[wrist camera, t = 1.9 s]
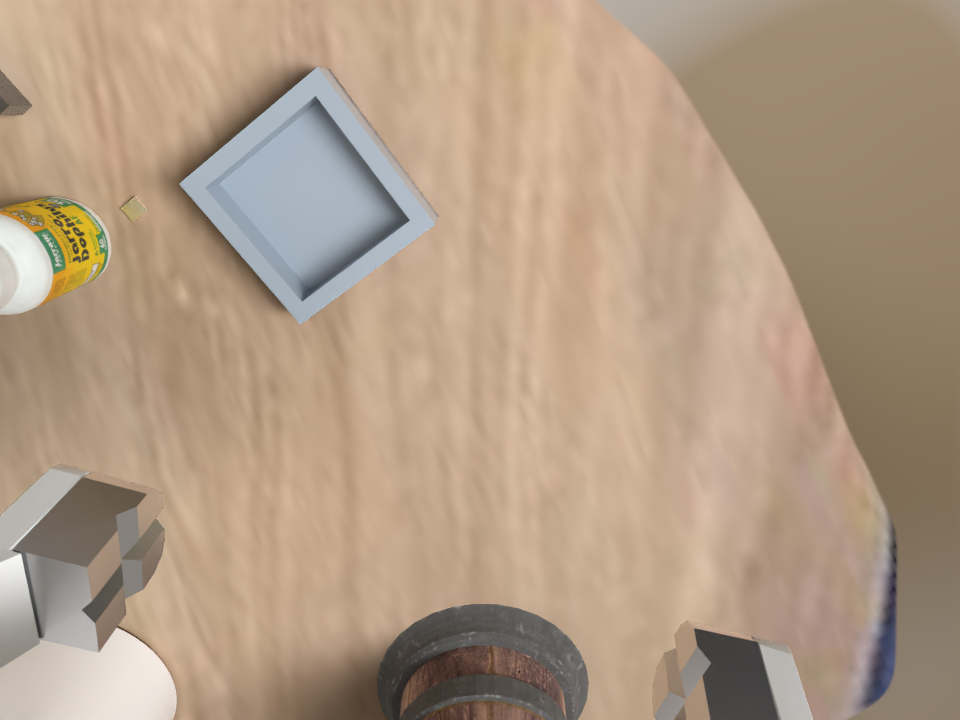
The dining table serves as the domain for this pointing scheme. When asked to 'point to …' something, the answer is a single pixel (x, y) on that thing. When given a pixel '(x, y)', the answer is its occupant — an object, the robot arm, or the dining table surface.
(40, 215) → the supplement bottle
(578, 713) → the tankard
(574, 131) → the dining table surface
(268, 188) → the tray
